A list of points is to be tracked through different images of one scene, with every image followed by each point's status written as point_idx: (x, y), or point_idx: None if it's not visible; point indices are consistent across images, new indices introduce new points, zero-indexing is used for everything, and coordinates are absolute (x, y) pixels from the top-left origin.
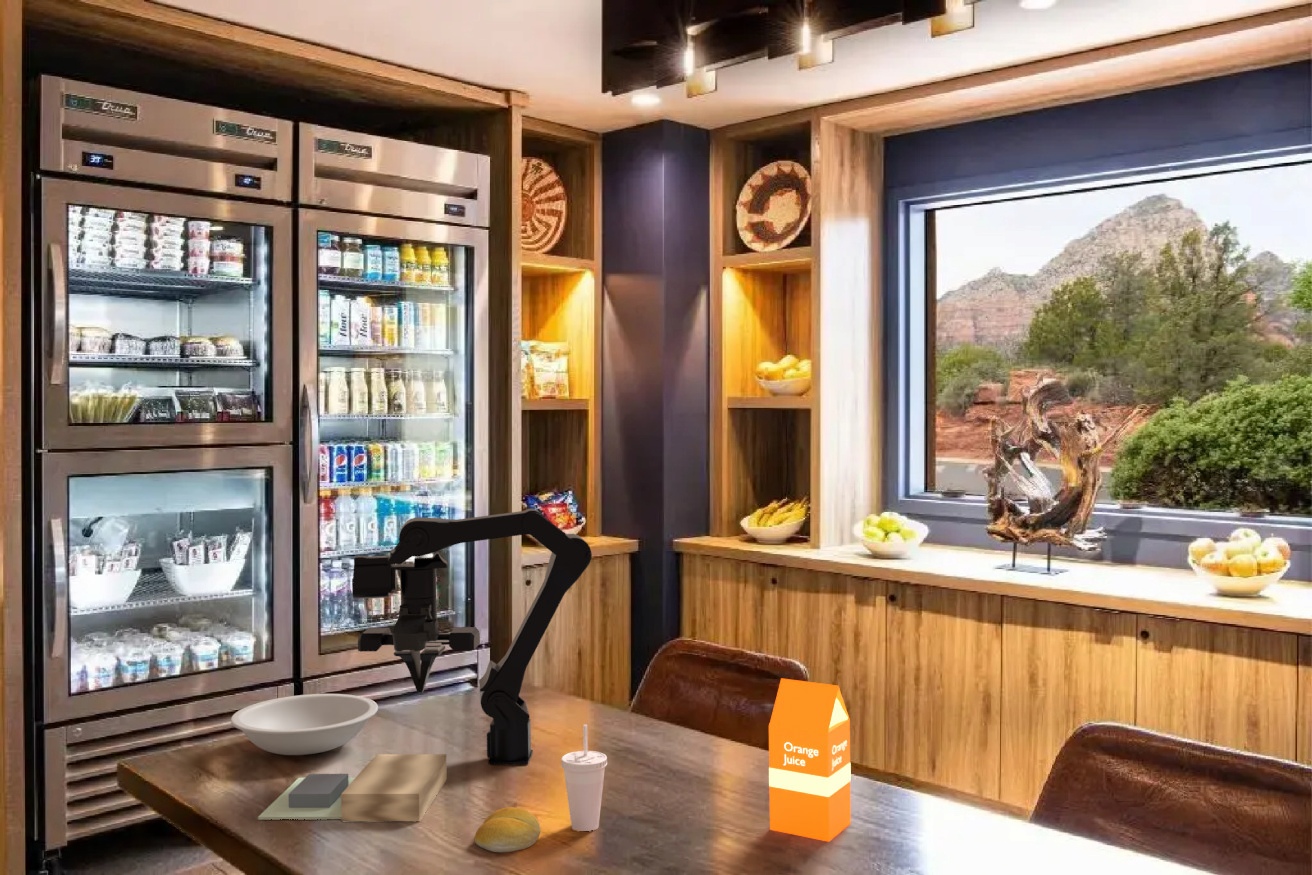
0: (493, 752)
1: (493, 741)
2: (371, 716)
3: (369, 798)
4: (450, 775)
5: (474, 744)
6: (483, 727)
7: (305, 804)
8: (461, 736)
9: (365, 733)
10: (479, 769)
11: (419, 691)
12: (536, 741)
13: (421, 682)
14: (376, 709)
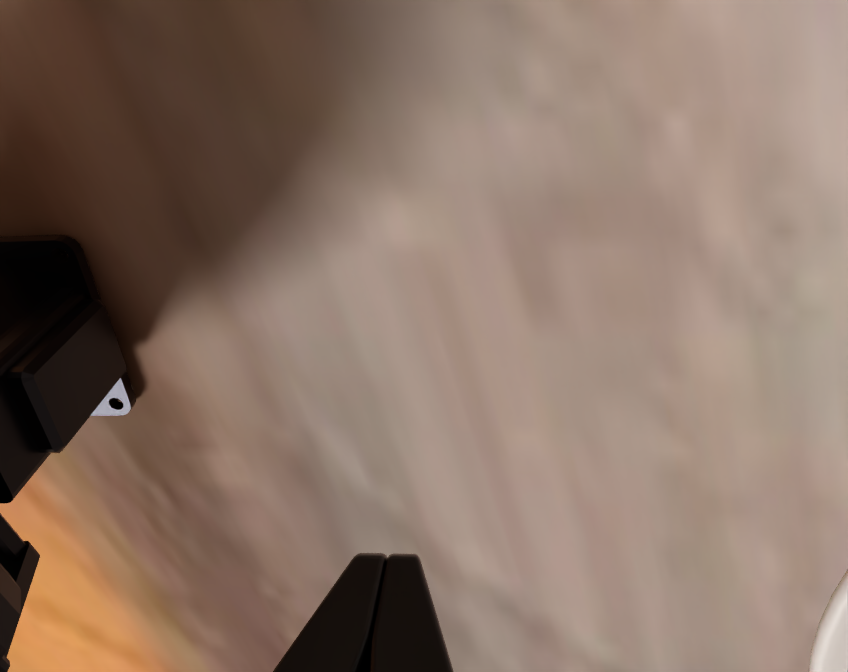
0: (46, 303)
1: (9, 336)
2: (844, 575)
3: None
4: (209, 54)
5: (288, 509)
6: None
7: None
8: None
9: (814, 634)
10: (95, 171)
11: (388, 559)
12: (46, 534)
13: (327, 656)
14: (820, 663)
